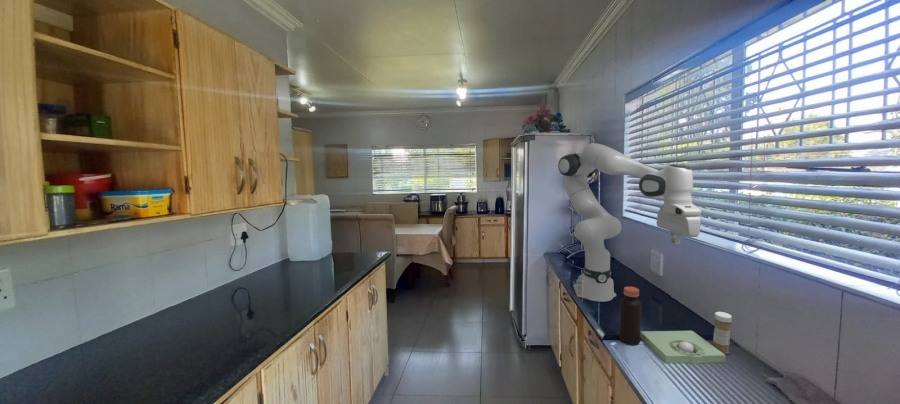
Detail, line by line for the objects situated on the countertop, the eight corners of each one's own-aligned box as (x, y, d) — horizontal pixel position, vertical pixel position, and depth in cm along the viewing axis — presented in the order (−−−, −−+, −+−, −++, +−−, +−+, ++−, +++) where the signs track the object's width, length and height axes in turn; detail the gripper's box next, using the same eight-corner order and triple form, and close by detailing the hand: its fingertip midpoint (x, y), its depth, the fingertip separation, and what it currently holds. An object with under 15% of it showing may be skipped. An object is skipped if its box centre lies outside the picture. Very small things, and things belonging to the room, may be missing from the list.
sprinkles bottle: (716, 346, 120) (719, 310, 119) (731, 352, 116) (734, 315, 115) (709, 349, 118) (712, 313, 117) (724, 356, 114) (727, 318, 113)
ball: (685, 355, 113) (677, 355, 117) (698, 354, 113) (690, 355, 117) (681, 341, 115) (674, 341, 119) (694, 340, 115) (686, 341, 119)
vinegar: (631, 335, 129) (633, 284, 127) (644, 344, 123) (646, 291, 120) (615, 337, 128) (616, 286, 126) (627, 346, 121) (629, 293, 119)
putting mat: (640, 337, 127) (640, 331, 127) (691, 337, 127) (692, 330, 126) (667, 364, 111) (667, 356, 110) (726, 363, 110) (726, 356, 110)
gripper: (653, 204, 138) (651, 237, 140) (686, 211, 118) (684, 250, 120) (668, 203, 138) (666, 237, 140) (705, 211, 118) (702, 250, 119)
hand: (675, 243), depth 129 cm, fingers closed
